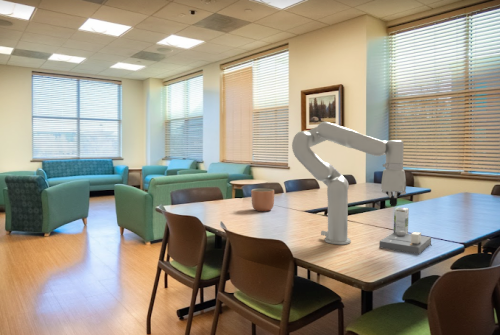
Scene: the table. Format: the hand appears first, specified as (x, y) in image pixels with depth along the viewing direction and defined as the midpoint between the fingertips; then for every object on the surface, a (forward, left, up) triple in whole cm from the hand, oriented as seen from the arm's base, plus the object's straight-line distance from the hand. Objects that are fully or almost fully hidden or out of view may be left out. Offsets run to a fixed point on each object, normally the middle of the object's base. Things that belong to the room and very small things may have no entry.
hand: (393, 205), depth 168 cm
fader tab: (+10, 0, -15) cm, 19 cm away
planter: (-106, +38, -19) cm, 114 cm away
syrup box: (-3, +22, -19) cm, 29 cm away
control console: (+5, +4, -19) cm, 20 cm away
